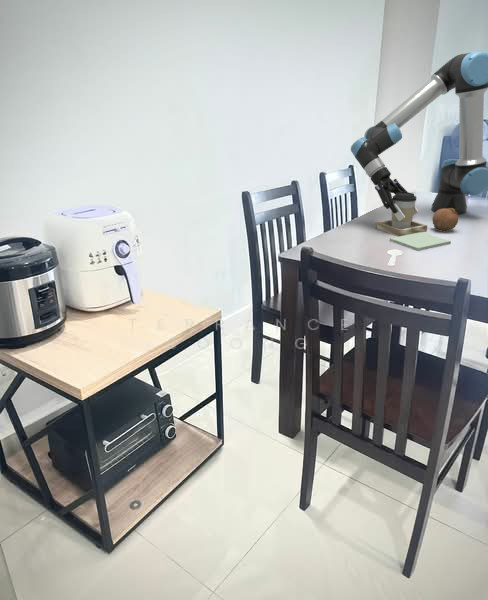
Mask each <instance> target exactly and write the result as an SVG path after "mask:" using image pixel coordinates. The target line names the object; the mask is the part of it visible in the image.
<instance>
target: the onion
mask: <svg viewBox="0 0 488 600" xmlns="http://www.w3.org/2000/svg"><path fill="white" fill-rule="evenodd" d="M458 216H459V215H458V214H457V212H456V210H455V209H453V208H443V209H439V210H437V211H436V212H434V213H433V216H432V219H431V221H432V224H433V227H434V228H435V230H436V231H441V232H449V231H451V230H453V229H454V228H456V226H457V225H458V222H459V217H458Z"/></svg>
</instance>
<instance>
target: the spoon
mask: <svg viewBox="0 0 488 600" xmlns="http://www.w3.org/2000/svg"><path fill="white" fill-rule="evenodd" d="M386 254H387V255H389V256H390V259H389V261H387V262H388V263H387V264H386V265H387V266H388V267H395V266H396V259H397V257H398V256H399V257H401V256H403V254H404V251H403V250H400V249H396V248H394V249H389V250H387V252H386Z"/></svg>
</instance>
